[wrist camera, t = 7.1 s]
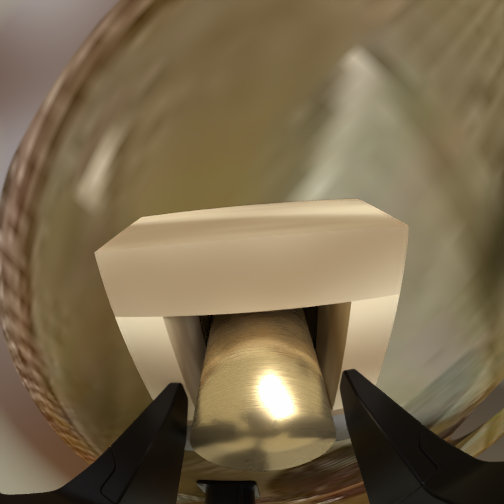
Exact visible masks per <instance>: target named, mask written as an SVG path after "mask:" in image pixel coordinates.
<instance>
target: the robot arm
mask: <svg viewBox="0 0 504 504" xmlns="http://www.w3.org/2000/svg"><path fill="white" fill-rule="evenodd" d="M340 394H341V399H342V405H343V410H344V415H345V420H346V426H347V429H348V433H349V436H350V439H351V442H352V445H353V449H354V452H355V455H356V458H357V461H358V465H359V468H360V471H361V475H362V478H363V481H364V485H365V488H366V491H367V495H368V498H369V502H370V504H504V461H503V462H487V461H482V460H479V459H476V458H474V457H472V456H470V455H469V454H467V453H465V452H463V451H462V450H460V449H458V448H456V447H455V446H453V445H451V444H450V443H448V442H446V441H445V440H443V439H442V438H440V437H439V436H437V435H436V434H435V433H433V432H432V431H431V430H429V429H428V428H427V427H426V426H424V425H422V424H421V423H420V422H419V421H418V420H417V419H415V418H414V417H413V416H412V415H410V414H409V413H408V412H407V411H406V410H404V409H403V408H402V407H401V406H399V405H398V404H397V403H396V402H394V401H393V400H392V399H391V398H390V397H388V396H387V395H386V394H385V393H384V392H382V391H381V390H380V389H379V388H377V387H376V386H375V385H374V384H373V383H371V382H370V381H369V380H368V379H367V378H365V377H364V376H363V375H362V374H361V373H360V372H358V371H357V370H356V369H348V370H344V371H343V372H342V377H341V382H340ZM187 417H188V397H187V394H186V392H185V389H184V387H183V385H182V383H175V382H171V383H169V384H168V385H167V386H166V387H165V388H164V390H163V391H162V392H161V393H160V394H159V395H158V396H157V397H156V398H155V399H154V400H153V402H152V403H151V404H150V405H149V406H148V407H147V408H146V409H145V410H144V411H143V412H142V413H141V414H140V416H139V417H138V418H137V419H136V420H135V421H134V422H133V423H132V424H131V425H130V426H129V427H128V428H127V429H126V430H125V431H124V432H123V434H122V435H121V436H120V437H119V438H118V439H117V440H116V441H115V442H114V443H113V444H112V445H111V447H109V448H108V449H107V450H106V451H105V452H104V453H103V454H102V455H101V456H100V457H99V458H98V459H97V460H96V461H95V462H94V463H92V464H91V465H90V466H89V467H88V468H87V469H85V470H84V471H83V472H81V473H80V474H79V475H78V476H76V477H75V478H74V479H72V480H71V481H70V482H68V483H67V484H66V485H64V486H63V487H61V488H59V489H57V490H54V491H50V492H44V493H33V494H16V495H6V494H2V493H0V504H176V500H177V493H178V487H179V481H180V474H181V468H182V462H183V456H184V451H185V445H186V437H187ZM197 485H198V486H199V487H200V489H201V490H202V491H203V492H204V493H205V501H204V504H255V498H259V497H260V493H259V490H258V486H257V483H256V482H211V481H197Z"/></svg>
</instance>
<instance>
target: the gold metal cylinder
mask: <svg viewBox="0 0 504 504" xmlns="http://www.w3.org/2000/svg"><path fill="white" fill-rule="evenodd" d="M335 439H336V429H335V425H334V421H333V417H332V413H331V409H330V405H329V401H328V397H327V394H326V390H325V386H324V382H323V379H322V375H321V371H320V367H319V364H318V360H317V356H316V353H315V349H314V346H313V342H312V339H311V335H310V332H309V328H308V325H307V321H306V318H305V314H304V311H303V308H293V309H283V310H272V311H260V312H248V313H233V314H217V315H213V320H212V324H211V329H210V334H209V339H208V344H207V349H206V354H205V359H204V364H203V369H202V374H201V379H200V384H199V390H198V395H197V400H196V406H195V411H194V416H193V422H192V428H191V433H190V444H191V447H192V448H193V449H194V451H195V452H196V453H197V454H198V455H200V456H201V457H203V458H204V459H206V460H208V461H210V462H212V463H215V464H217V465H220V466H224V467H227V468H232V469H237V470H245V471H272V470H280V469H286V468H291V467H295V466H298V465H301V464H304V463H307V462H309V461H311V460H313V459H315V458H317V457H319V456H321V455H322V454H323V453H325V452H326V451H327V450H328V449H329V448H330V447H331V446H332V445H333V443H334V442H335Z"/></svg>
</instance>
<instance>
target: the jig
mask: <svg viewBox="0 0 504 504" xmlns="http://www.w3.org/2000/svg"><path fill="white" fill-rule="evenodd" d="M408 233H409V226H408V225H406V224H404V223H403V222H401V221H399V220H397V219H395V218H394V217H392V216H390V215H388V214H386V213H384V212H383V211H381V210H379V209H377V208H375V207H373V206H371V205H369V204H367V203H366V202H364V201H362V200H360V199H341V200H320V201H302V202H286V203H272V204H259V205H247V206H236V207H225V208H215V209H206V210H196V211H188V212H179V213H171V214H163V215H155V216H148V217H141V218H140V219H138V220H137V221H136V222H134V223H133V224H131V225H130V226H129V227H127V228H126V229H125V230H123V231H122V232H121V233H119V234H118V235H117V236H115V237H114V238H113V239H111V240H110V241H109V242H107V243H106V244H105V245H104V246H102V247H101V248H100V249H98V250H97V251H96V252H95V257H96V260H97V264H98V267H99V271H100V274H101V277H102V280H103V284H104V287H105V290H106V293H107V296H108V299H109V302H110V304H111V307H112V310H113V313H114V315H115V318H116V321H117V323H118V326H119V328H120V331H121V333H122V336H123V338H124V341H125V343H126V345H127V348H128V350H129V352H130V354H131V357H132V359H133V361H134V363H135V365H136V368H137V370H138V372H139V374H140V376H141V378H142V380H143V382H144V384H145V386H146V388H147V390H148V392H149V394H150V396H151V397H152V399H153V400H154V399H155V398H156V397H157V396H158V395H159V394H160V393H161V392H162V391H163V390H164V388H165V387H166V386H167V385H168V384H169V383H171V382H175V383H182V385H183V387H184V389H185V392H186V394H187V397H188V417H187V437H186V445H185V450H187V451H194V449H193V448H192V447H191V444H190V433H191V428H192V422H193V416H194V411H195V406H196V400H197V395H198V390H199V384H200V379H201V374H202V369H203V364H204V359H205V354H206V345H205V341H204V336H203V332H202V328H201V324H200V319H199V315H217V314H233V313H248V312H260V311H272V310H283V309H293V308H303V307H312V306H318V323H317V338H316V351H315V353H316V356H317V360H318V364H319V367H320V371H321V375H322V379H323V382H324V386H325V390H326V394H327V397H328V401H329V405H330V409H331V413H332V417H333V421H334V425H335V429H336V439H335V441H340V440H345V439H349V438H350V436H349V433H348V429H347V426H346V420H345V415H344V410H343V405H342V399H341V394H340V382H341V377H342V372H343V371H344V370H348V369H356V370H357V371H358V372H360V373H361V374H362V375H363V376H364V377H365V378H367V379H368V380H369V381H370V382H371V383H373V384H374V385H376V383H377V380H378V377H379V373H380V370H381V367H382V364H383V361H384V357H385V354H386V350H387V347H388V343H389V339H390V335H391V331H392V327H393V323H394V319H395V314H396V310H397V305H398V300H399V295H400V290H401V284H402V278H403V272H404V265H405V258H406V251H407V242H408Z"/></svg>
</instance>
